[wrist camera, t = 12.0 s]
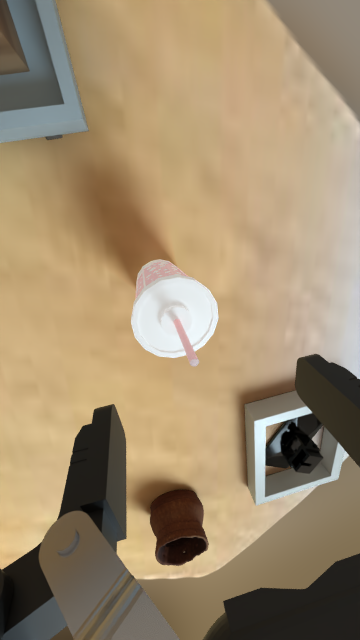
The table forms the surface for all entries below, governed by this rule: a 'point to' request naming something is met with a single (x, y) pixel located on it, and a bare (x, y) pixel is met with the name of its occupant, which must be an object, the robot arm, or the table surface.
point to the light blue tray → (40, 78)
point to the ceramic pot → (178, 527)
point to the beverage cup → (172, 311)
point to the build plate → (295, 445)
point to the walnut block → (10, 44)
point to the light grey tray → (290, 480)
